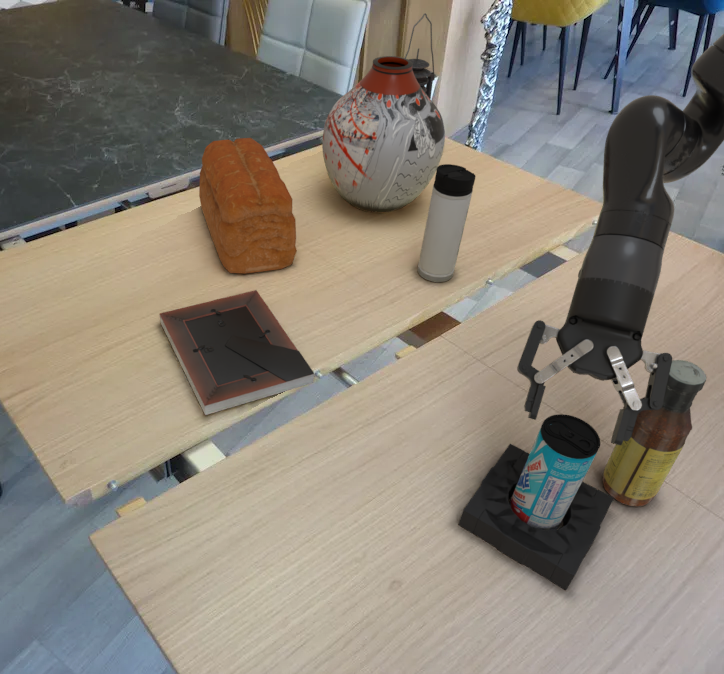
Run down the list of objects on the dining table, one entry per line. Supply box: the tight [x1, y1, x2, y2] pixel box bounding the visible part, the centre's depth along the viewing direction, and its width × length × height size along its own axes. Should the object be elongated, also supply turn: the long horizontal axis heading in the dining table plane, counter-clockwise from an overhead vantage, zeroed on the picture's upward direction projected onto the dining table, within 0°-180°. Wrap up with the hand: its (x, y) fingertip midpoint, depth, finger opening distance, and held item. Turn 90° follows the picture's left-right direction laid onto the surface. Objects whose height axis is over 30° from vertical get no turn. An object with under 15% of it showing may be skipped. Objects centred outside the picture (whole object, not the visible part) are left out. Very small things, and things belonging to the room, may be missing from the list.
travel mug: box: [417, 163, 476, 283], centre depth 112 cm, size 6×7×20 cm
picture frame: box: [158, 289, 315, 416], centre depth 100 cm, size 16×2×22 cm
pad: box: [458, 443, 615, 591], centre depth 79 cm, size 13×13×3 cm
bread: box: [198, 137, 298, 275], centre depth 122 cm, size 14×27×15 cm, turn 15°
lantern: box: [404, 13, 436, 100], centre depth 146 cm, size 12×11×30 cm
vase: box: [321, 55, 446, 214], centre depth 128 cm, size 23×23×28 cm
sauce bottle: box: [602, 359, 707, 508], centre depth 77 cm, size 6×6×20 cm
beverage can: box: [508, 413, 601, 530], centre depth 75 cm, size 6×6×15 cm
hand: (573, 431), depth 71 cm, fingers open, 8 cm apart
